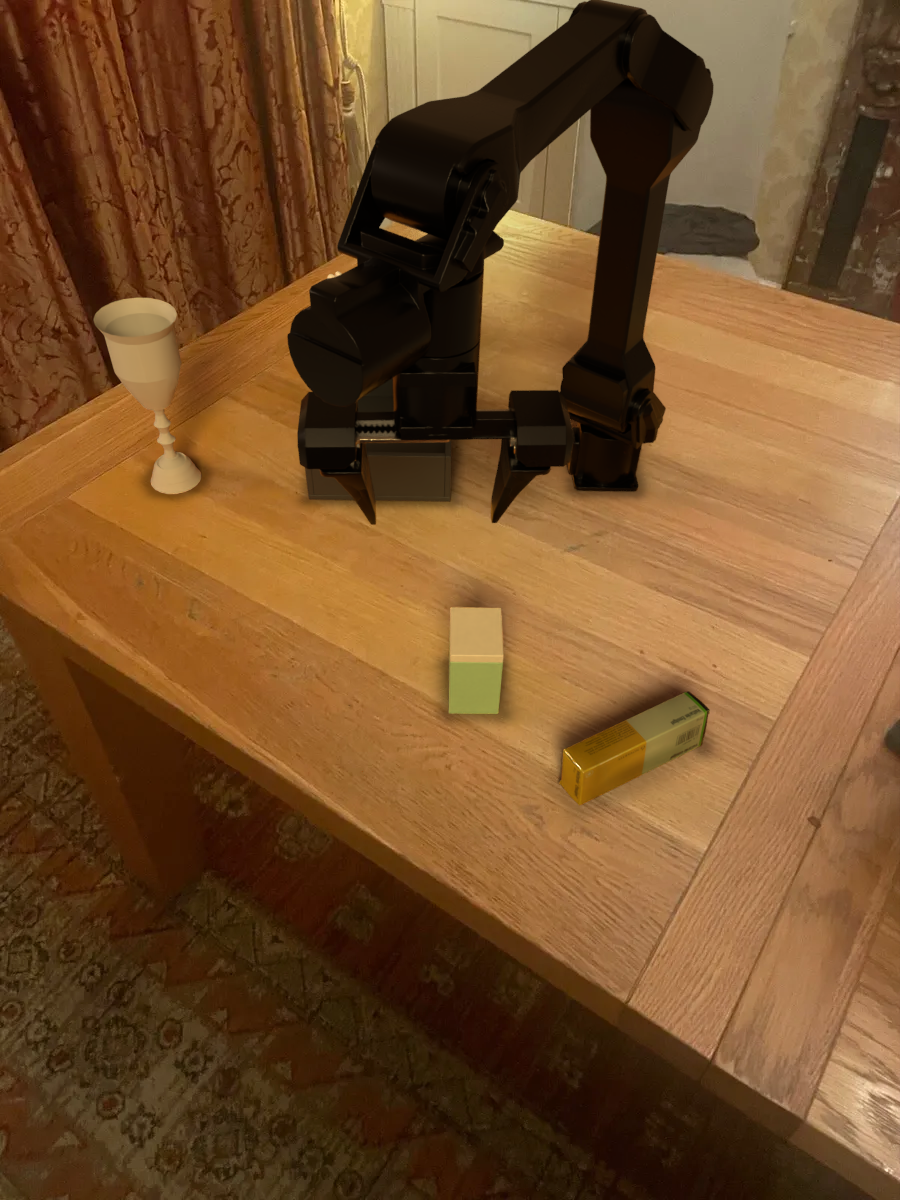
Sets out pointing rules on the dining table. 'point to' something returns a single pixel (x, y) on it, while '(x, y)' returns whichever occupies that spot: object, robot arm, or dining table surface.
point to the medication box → (633, 747)
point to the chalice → (150, 375)
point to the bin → (393, 464)
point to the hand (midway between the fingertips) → (433, 520)
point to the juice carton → (475, 660)
